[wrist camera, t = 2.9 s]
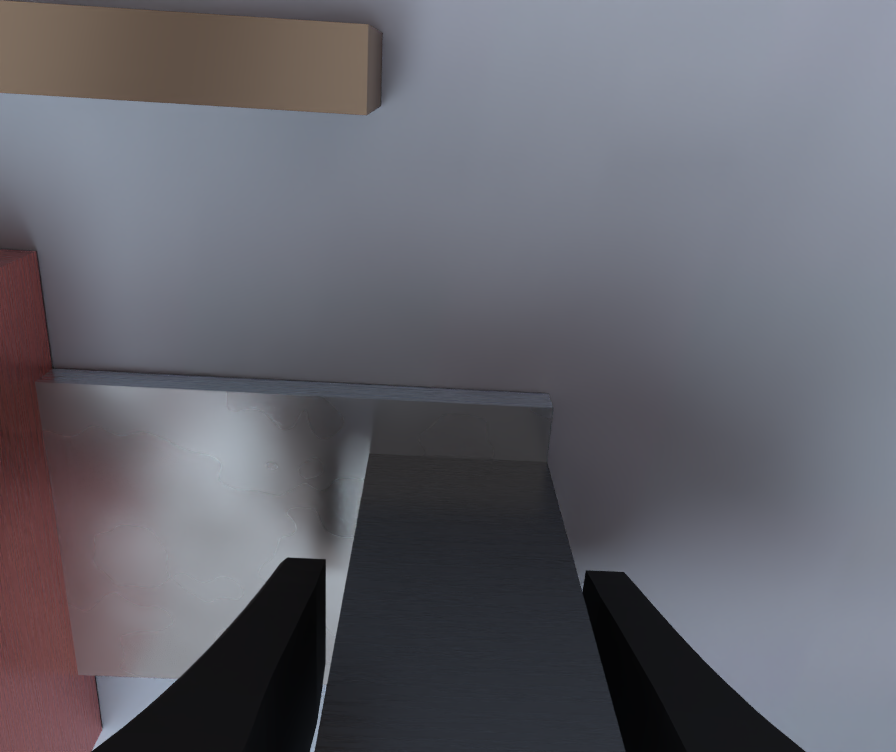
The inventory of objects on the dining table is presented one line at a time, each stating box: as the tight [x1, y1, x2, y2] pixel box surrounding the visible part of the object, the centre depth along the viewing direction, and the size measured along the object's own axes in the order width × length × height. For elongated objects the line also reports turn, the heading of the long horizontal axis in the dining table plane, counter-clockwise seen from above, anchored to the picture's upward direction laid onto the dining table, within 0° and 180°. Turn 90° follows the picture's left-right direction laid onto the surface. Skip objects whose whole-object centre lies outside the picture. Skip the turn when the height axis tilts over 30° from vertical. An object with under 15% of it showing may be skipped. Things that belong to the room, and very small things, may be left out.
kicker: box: [0, 249, 625, 752], centre depth 11 cm, size 10×10×7 cm
